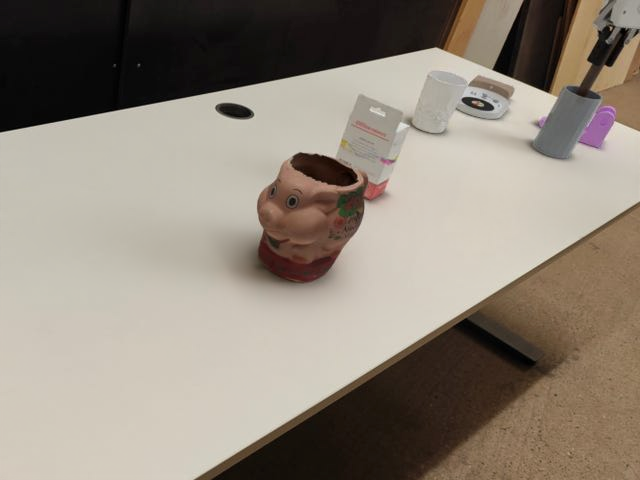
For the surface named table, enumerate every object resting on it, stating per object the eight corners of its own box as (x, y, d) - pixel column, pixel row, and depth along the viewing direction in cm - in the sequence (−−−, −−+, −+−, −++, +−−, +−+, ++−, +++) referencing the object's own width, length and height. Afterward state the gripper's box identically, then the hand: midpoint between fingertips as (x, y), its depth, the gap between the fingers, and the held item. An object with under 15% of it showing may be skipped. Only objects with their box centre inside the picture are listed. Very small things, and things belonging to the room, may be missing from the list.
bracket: (600, 140, 147) (619, 109, 142) (598, 147, 143) (618, 116, 139) (540, 120, 151) (557, 89, 146) (537, 127, 147) (554, 95, 142)
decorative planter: (305, 219, 102) (334, 131, 93) (372, 258, 96) (411, 169, 87) (219, 259, 90) (243, 164, 81) (290, 307, 85) (324, 210, 75)
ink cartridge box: (384, 193, 112) (420, 106, 102) (370, 201, 109) (405, 113, 100) (341, 171, 116) (372, 86, 106) (326, 179, 113) (356, 92, 103)
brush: (584, 122, 133) (634, 37, 122) (566, 121, 131) (616, 36, 121) (568, 112, 136) (616, 29, 125) (552, 112, 134) (598, 27, 124)
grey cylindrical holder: (576, 158, 137) (611, 100, 129) (548, 158, 135) (582, 99, 126) (552, 142, 142) (584, 85, 134) (524, 141, 140) (555, 84, 132)
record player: (521, 88, 156) (501, 110, 143) (515, 101, 158) (494, 124, 145) (473, 71, 160) (449, 92, 147) (467, 84, 162) (443, 106, 149)
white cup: (448, 126, 140) (470, 77, 133) (443, 138, 134) (466, 89, 128) (411, 114, 142) (431, 66, 135) (405, 126, 136) (425, 77, 129)
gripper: (644, -45, 109) (580, 69, 122) (713, -36, 114) (644, 73, 126) (611, -57, 114) (552, 54, 127) (678, -48, 119) (615, 58, 131)
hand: (599, 63), depth 126 cm, fingers closed on brush, 2 cm apart
